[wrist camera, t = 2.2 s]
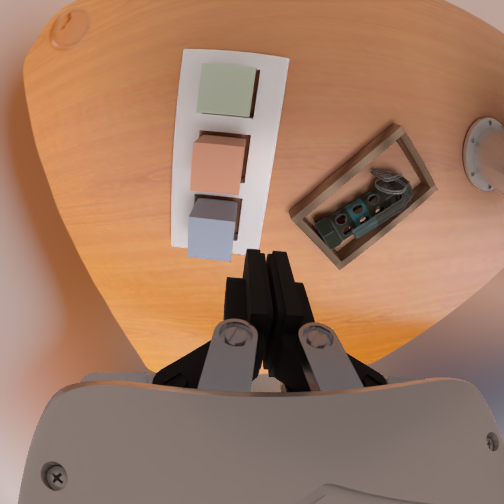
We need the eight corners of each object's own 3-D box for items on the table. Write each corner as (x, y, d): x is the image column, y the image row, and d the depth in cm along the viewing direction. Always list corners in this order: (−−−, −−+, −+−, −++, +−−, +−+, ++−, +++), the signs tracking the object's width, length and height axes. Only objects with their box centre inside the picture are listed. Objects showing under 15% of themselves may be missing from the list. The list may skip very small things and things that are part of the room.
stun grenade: (325, 238, 41) (403, 190, 36) (338, 265, 35) (425, 210, 31) (304, 207, 38) (388, 155, 33) (316, 231, 32) (412, 171, 28)
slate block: (198, 197, 35) (188, 216, 29) (237, 201, 35) (235, 221, 30) (196, 232, 37) (187, 256, 32) (233, 237, 37) (230, 261, 32)
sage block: (211, 69, 26) (202, 63, 21) (255, 73, 27) (256, 67, 22) (206, 110, 29) (196, 112, 24) (249, 114, 29) (249, 117, 24)
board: (187, 51, 27) (183, 48, 25) (287, 60, 27) (289, 58, 26) (174, 239, 40) (171, 246, 38) (257, 248, 41) (257, 256, 39)
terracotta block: (203, 134, 30) (193, 142, 25) (246, 138, 31) (244, 147, 26) (199, 174, 33) (189, 190, 28) (241, 179, 33) (238, 195, 28)
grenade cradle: (392, 123, 31) (401, 126, 29) (428, 183, 35) (437, 189, 33) (288, 211, 38) (291, 219, 36) (335, 260, 42) (339, 270, 40)
